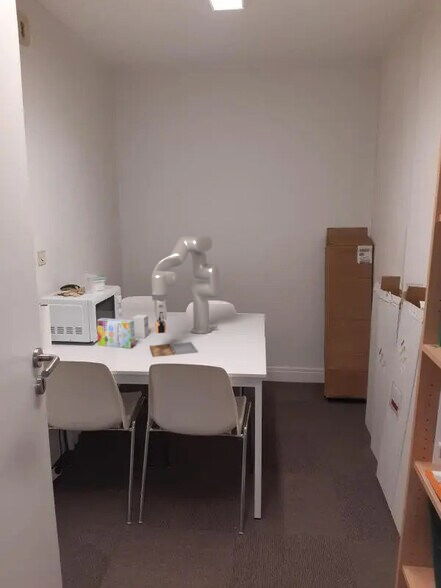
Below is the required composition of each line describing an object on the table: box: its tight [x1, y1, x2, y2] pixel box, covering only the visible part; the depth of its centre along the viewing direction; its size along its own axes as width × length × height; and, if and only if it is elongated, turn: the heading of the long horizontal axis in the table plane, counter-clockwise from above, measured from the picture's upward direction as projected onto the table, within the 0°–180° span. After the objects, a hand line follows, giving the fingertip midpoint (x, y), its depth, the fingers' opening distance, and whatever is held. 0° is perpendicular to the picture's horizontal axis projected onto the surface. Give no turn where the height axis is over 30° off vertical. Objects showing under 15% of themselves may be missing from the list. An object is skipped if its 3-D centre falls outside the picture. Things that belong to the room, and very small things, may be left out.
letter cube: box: [154, 320, 167, 334], centre depth 234 cm, size 5×5×5 cm
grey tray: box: [171, 341, 198, 356], centre depth 240 cm, size 11×14×2 cm
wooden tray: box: [149, 343, 175, 358], centre depth 237 cm, size 11×14×2 cm
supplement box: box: [132, 314, 150, 339], centre depth 267 cm, size 7×7×13 cm
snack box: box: [96, 317, 136, 349], centre depth 250 cm, size 21×6×15 cm, turn 71°
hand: (160, 330), depth 235 cm, fingers closed on letter cube, 4 cm apart
